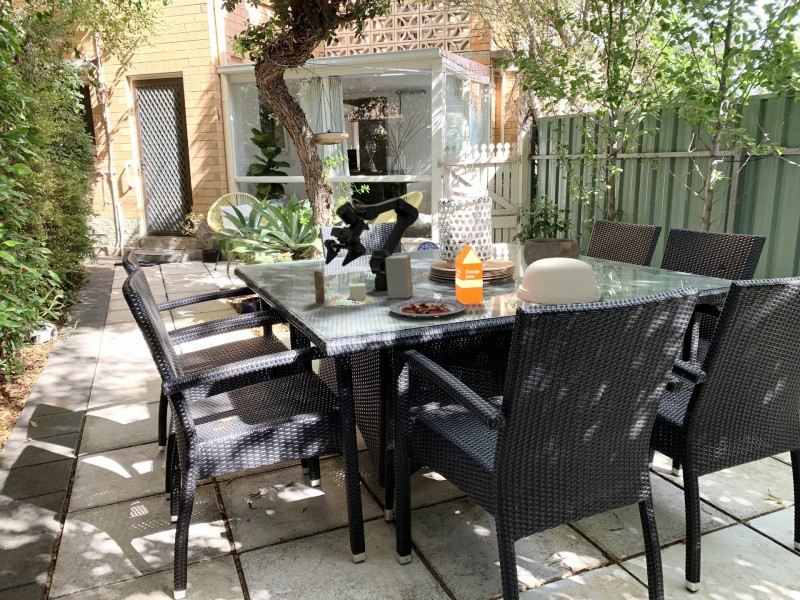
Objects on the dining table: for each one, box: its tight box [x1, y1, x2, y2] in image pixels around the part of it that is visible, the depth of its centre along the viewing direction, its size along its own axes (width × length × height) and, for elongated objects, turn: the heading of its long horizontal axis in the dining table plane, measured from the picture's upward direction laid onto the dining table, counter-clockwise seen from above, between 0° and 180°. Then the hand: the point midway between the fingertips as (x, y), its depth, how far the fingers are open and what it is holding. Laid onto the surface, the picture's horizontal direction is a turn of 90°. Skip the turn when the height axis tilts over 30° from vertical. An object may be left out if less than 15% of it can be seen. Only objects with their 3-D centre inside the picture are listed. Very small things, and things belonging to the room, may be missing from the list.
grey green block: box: [348, 282, 367, 300], centre depth 237 cm, size 6×6×5 cm
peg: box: [313, 269, 326, 305], centre depth 229 cm, size 3×3×12 cm
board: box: [327, 294, 373, 308], centre depth 232 cm, size 16×18×1 cm
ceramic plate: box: [388, 298, 466, 318], centre depth 211 cm, size 26×26×3 cm
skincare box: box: [385, 254, 414, 299], centre depth 236 cm, size 8×7×16 cm
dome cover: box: [517, 258, 602, 305], centre depth 230 cm, size 32×30×14 cm
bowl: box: [523, 237, 580, 268], centre depth 280 cm, size 24×24×15 cm
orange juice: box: [455, 244, 484, 304], centre depth 224 cm, size 8×9×20 cm
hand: (334, 264), depth 233 cm, fingers open, 9 cm apart
